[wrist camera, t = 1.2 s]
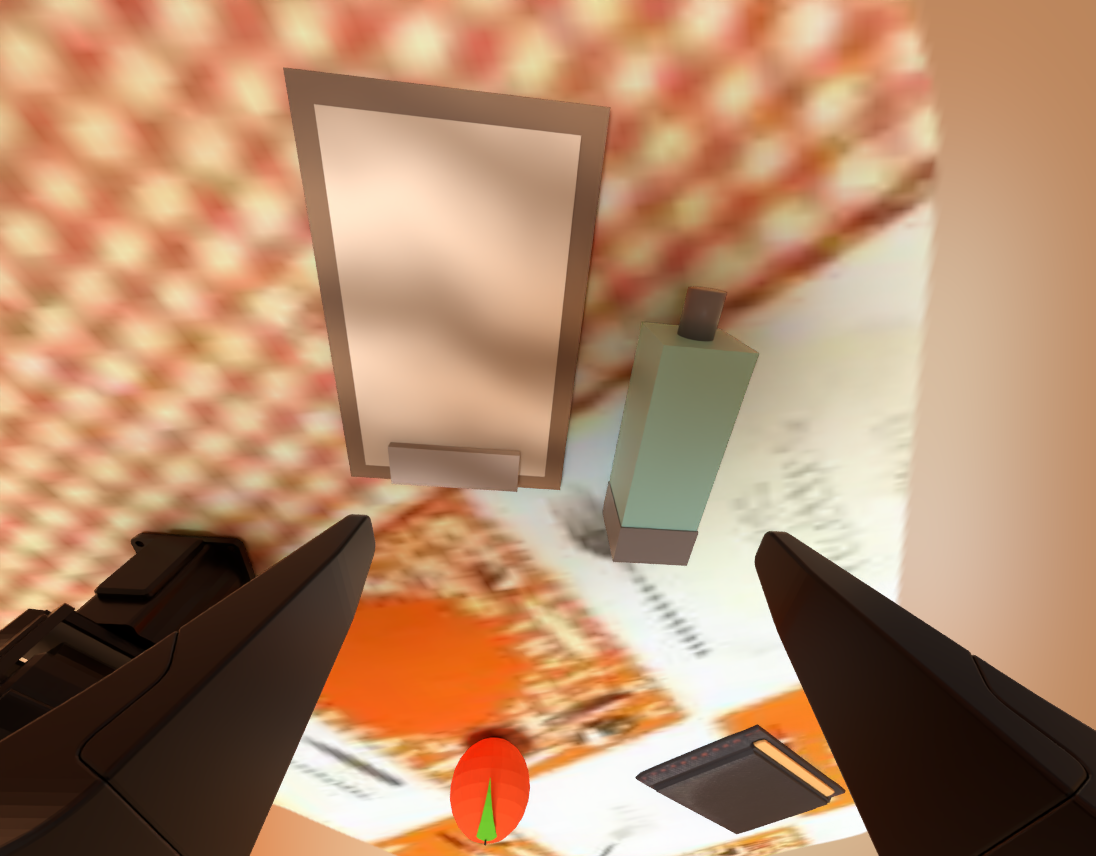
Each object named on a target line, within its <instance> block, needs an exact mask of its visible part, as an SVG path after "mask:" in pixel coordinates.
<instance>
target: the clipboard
mask: <svg viewBox="0 0 1096 856" xmlns="http://www.w3.org/2000/svg"><path fill="white" fill-rule="evenodd" d="M283 69H284V75H285V81H286V87H287V93H288V99H289V105H290V111H291V117H292V123H293V129H294V135H295V141H296V147H297V153H298V159H299V165H300V171H301V177H302V183H303V189H304V195H305V201H306V207H307V213H308V219H309V225H310V231H311V237H312V243H313V249H314V255H315V261H316V267H317V273H318V279H319V285H320V291H321V297H322V303H323V309H324V315H325V321H326V327H327V333H328V339H329V345H330V351H331V357H332V363H333V369H334V375H335V381H336V387H337V393H338V399H339V405H340V411H341V417H342V423H343V429H344V435H345V441H346V447H347V453H348V459H349V465H350V471H351V476H353V477H369V478H384V479H391V482H392V484H405V485H420V486H436V487H451V488H467V489H483V490H498V491H514V492H517V487H523V488H538V489H554V490H560V485H561V478H562V470H563V463H564V455H565V447H566V440H567V432H568V425H569V417H570V409H571V402H572V394H573V387H574V379H575V372H576V364H577V356H578V349H579V341H580V334H581V326H582V318H583V311H584V303H585V296H586V288H587V281H588V273H589V265H590V258H591V250H592V243H593V235H594V227H595V220H596V212H597V205H598V197H599V190H600V182H601V174H602V167H603V159H604V152H605V144H606V136H607V129H608V121H609V114H610V107H603V106H595V105H586V104H578V103H570V102H562V101H554V100H545V99H537V98H529V97H521V96H513V95H505V94H496V93H488V92H480V91H472V90H464V89H455V88H447V87H439V86H431V85H423V84H414V83H406V82H398V81H390V80H382V79H373V78H365V77H357V76H349V75H341V74H332V73H324V72H316V71H308V70H300V69H291V68H283Z"/></svg>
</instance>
